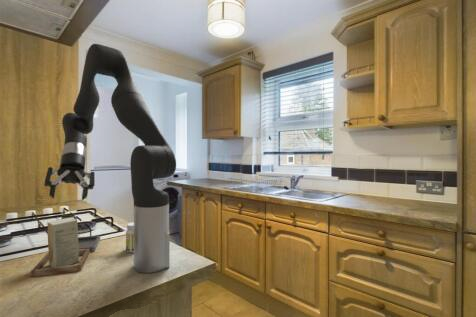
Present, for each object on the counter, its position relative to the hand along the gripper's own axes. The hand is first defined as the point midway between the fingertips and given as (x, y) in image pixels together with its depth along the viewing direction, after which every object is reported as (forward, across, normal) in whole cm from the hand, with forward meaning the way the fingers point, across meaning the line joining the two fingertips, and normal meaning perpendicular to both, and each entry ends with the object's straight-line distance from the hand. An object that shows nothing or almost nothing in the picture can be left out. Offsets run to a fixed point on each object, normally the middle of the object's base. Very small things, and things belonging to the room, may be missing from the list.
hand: (68, 198), depth 86 cm
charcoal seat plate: (+14, +5, +6) cm, 16 cm away
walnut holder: (+22, +1, -4) cm, 22 cm away
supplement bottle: (+20, +19, -5) cm, 28 cm away
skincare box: (+22, +1, -3) cm, 23 cm away
